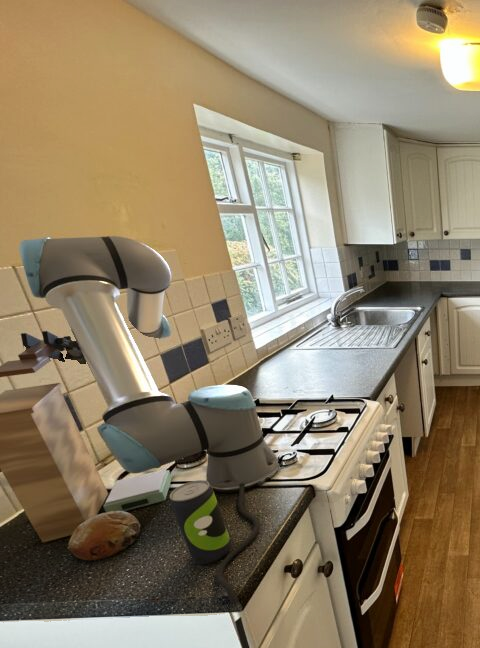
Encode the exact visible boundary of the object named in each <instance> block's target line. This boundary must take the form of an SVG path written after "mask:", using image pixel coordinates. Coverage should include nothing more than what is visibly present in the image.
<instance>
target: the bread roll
mask: <svg viewBox="0 0 480 648" xmlns="http://www.w3.org/2000/svg"><path fill="white" fill-rule="evenodd" d="M140 531H141V524H140V522H139V520H138V519H137V518H136V516H135V515H133V514H132V513H130V512H127V511H111V512H106V511H105V512H102V513H98V515H96V516H94V517H92V518H90V519H88V520H86V521H85V522H83V523H82V524H80V525H79V526H78V527H77V528H76V529H75V531H74V532H73V534H72V535H70V538H69V540H68V549H69V550H70V551H71V553H72V555H73V556H74V557H75V558H77V559H80V560H83V561H96V560H101V559H105V558H109V557H111V556H113V555H115V554H117V553H119V552H120V551H123V550H125V549H127V548H128V547H129V546H130V545H132V544H133V543H134V542H135V541H136V539H137V538H138V536H139V534H140Z"/></svg>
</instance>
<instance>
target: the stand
mask: <svg viewBox="0 0 480 648" xmlns="http://www.w3.org/2000/svg"><path fill="white" fill-rule="evenodd" d="M62 388H63V385H62V383H61V382H56V383H47V384H42V385H35V386H27V387H20V388H13V389H6V390H4V391H3V392H1V393H0V471H1V473H2V474H3V476H4V478H5V480H6V482H7V483H8V485H9V487H10V488H11V490H12V492H13V493H14V496H15V497H16V499H17V501H18V502H19V504H20V507H22V510H23V512H24V513H25V515H26V517H27V518H28V519H29V522H30V523H31V525H32V527H33V528H34V531H35V532H36V534H37V536H38V537H39V539H40V541H41V543H42V544H43V543H47V542H50V541H54V540H58V539H62V538H66V537H69V536H72V534H73V532H74V531H75V529H76V528H77V527H78V526H79V525H80V524H82V523H83V522H85V521H86V520H88V519H90V518H92V517H94V516H96V515H99V514H100V510H101V509H102V506H104V504H105V502H106V500H107V498H108V496H109V492H108V490H107V487H106V486H105V483H104V481H103V479H102V477H101V474H100V472H99V470H98V468H97V465H96V463H95V461H94V459H93V457H92V455H91V453H90V450H89V448H88V446H87V444H86V443H85V440H84V438H83V436H82V433H81V431H80V429H79V427H78V425H77V423H76V421H75V419H74V417H73V414H72V412H71V410H70V408H69V406H68V404H67V401H66V399H65V397H64V395H63V392H62V391H61V389H62Z"/></svg>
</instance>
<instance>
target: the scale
mask: <svg viewBox="0 0 480 648" xmlns="http://www.w3.org/2000/svg"><path fill="white" fill-rule="evenodd" d="M172 480H173V477H172V475H171V472H170V470H169V469H168V470H167V469H161V470H155V471H152V472H148V473H145V474H144V473H143V474H139V475H135V476H130V477H127V478H121V479H118V480H115V482H114V485H113V486H112V488H111V490H110V492H109V493H108V495H107V497H106V499H105V501H104V503H103V505H102V506H103V509H104V511H105V513H106V512H111V511H124V512H127V511H130V510H135V509H138V508H141V507H145V506H149V505H153V504H157V503H161V502H165V501H166V499H167V496H168V492H169V489H170V486H171V482H172Z"/></svg>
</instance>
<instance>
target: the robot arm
mask: <svg viewBox="0 0 480 648" xmlns="http://www.w3.org/2000/svg"><path fill="white" fill-rule="evenodd" d="M18 249H19V250H18V251H19V254H20V258H21V262H22V266H23V269H24V273H25V276H26V280H27V283H28V286H29V289H30V292H31V295H32V296H33V297H35V298H40V299H45V301H46V303H47V304H48V305H49V306H51V307H53V308H55V309H58V310H61V311H62V315H63V316H64V318H65V321H66V320H67V322H68V324H69V326H70V328H71V331H72V333H73V335H74V337H75V339H76V341H72V340H71V337H70V336H67V335H65V336H63V337H60V336H57V335H55V334H54V333H51V332H50V331H49V330H44V331H41V334H42V338H43V339H44V344H46V345H49V346H51V347H53V348H55V349H57V350H55V351H54V352H53V353H51V354H50V355H48V356H47V357H49V358H53V359H58V360H59V361H62V362H65V360H64V358H63V354H62V353H61V352H60V351H63V350H65V349H66V351H67V354H66V357H65V359H71V360H77V361H78V362H79V363H80V364H86V362H87V364H88V366H89V368H90V370H91V372H92V374H93V376H94V378H95V380H96V382H97V383H96V382H95V383H96V384H97V386H98V388H99V391H100V393H101V395H102V397H103V399H104V401H105V403H106V405H107V408H106V409H105V410H104V412H103V413H102V416H101V418H102V420H103V423H101V424H100V425H99V426H97V427H96V429H97V433H98V434H99V436H100V438H101V439H102V440H103V443H105V446H106V448H107V449H108V450H109V452H110V453H111V454H112V456H113V457H114V459H115V460H116V461H117V463H118V464H119V465H120V467H121V468H122V469H123V470H125V472H127V473H130V474H141V473H144V472H147V471H150V470H153V469H159V468H161V467H162V466H165V465H168V464H171V463H173V462H176V461H179V460H181V459H184V458H188V457H191V456H193V455H196V454H199V453H201V452H204V451H206V453H207V465H206V475H205V476H206V477H205V478H206V481H207V482H208V483H209V485H210V486H211V487H212V488H213V491H214V492H216V493H223V494H224V493H227V494H228V493H237V492H238V502H237V507H238V511H239V513H240V514H241V515H242V516H243V517H245V518H246V519H247V520H249V521H251V522H252V524H253V530H252V532H251V534H250V535H249V536H248V537H247V538H246V539H245V540H244V541H243V542H242V543H241V544H239V545H238V546H237V547H236V548H235V549H233V550H232V551H231V552H230V553H228V554H227V556H225V558H224V559H223V560H222V561H221V563H220V564H219V566H218V568H217V570H216V574H215V578H216V579H215V580H216V582H217V583H218V584H219V585H220V586H221V587H222V588H223V589H224V590H225V592H226V594H227V595H228V598H229V601H230V604H231V605H232V606H234V605H236V604H237V603H238V602H239V601H238V596H237V593H236V591H235V589H234V587H233V586H232V584H231V583H230V582H229V581H227V580H226V578H225V577H224V572H225V568H226V566H227V565H228V564H229V562H230V561H231V560H233V559H234V557H235V556H236V555H238V554H239V553H240V552H241V551H242V550H243V549H245V548H246V547H247V546H248V545H250V543H251V542H252V541H253V540H254V539H255V538H256V537H257V535H258V533H259V530H260V527H261V526H260V522H259V520H258V518H257V517H256V516H254V515H252V514H251V513H250V512H248V511H247V510H246V509H245V506H244V499H245V490H248V489H249V490H250V489H252V488H254V487H256V486H259V485H261V484H263V483H265V482H266V481H268V480H270V479H271V478H272V477H273V476H274V475H276V473H277V472H278V471H279V468H280V462H279V460H278V456H277V455H276V454H275V452H274V451H273V450H272V448H271V447H270V446H269V444H268V443H267V442H266V441H265V438H264V435H263V431H262V427H261V423H260V420H259V415H258V412H257V408H256V407H257V405H256V403H255V400H254V398H253V396H252V393H251V391H250V390H249V389H247V388H246V387H244V386H240V385H236V384H218V385H217V384H216V385H209V386H204V387H199V388H197V389H195V390H192V391H191V392H189V393H188V397H187V401H184V402H183V401H182V402H180V403H175V401H174V399H173V397H172V396H171V395H169V394H166V393H163V392H160V390H159V388H158V386H157V383H155V380H154V377H153V376H152V374H151V372H150V370H149V368H148V365H147V364H146V361H145V360H144V357H143V356H142V353H141V352H140V350H139V347H138V345H137V343H135V341H134V339H133V337H132V335H131V333H130V331H129V329H128V327H127V325H126V323H125V321H124V319H125V318H124V317H123V314H122V312H121V310H120V309H119V307H118V305H117V301H118V299H119V298H120V296H121V291H120V290H126V313H127V314H126V315H128V319H129V321H130V322H131V324H132V325H133V326H134V327H135V328H136V329H137V330H138V331H139V332H140V333H142V334H143V335H145V336H148V337H154V338H159V340H161V339H165V338H166V339H167V338H169V337H171V335H172V330H171V326H170V322H169V321H168V319H167V317H166V316H165V315H164V314H163V309H164V300H165V292H166V291H167V290H168V289H169V288H170V286H171V283H172V272H171V269H170V267H169V264H168V263H167V261H166V260H165V258H163V256H161V254H159V253H158V252H157V251H156V250H154V249H153V248H151V247H150V246H149V245H147V244H145V243H142V242H140V241H138V240H135V239H132V238H130V237H125V236H117V235H107V236H87V237H85V236H83V237H61V238H60V237H59V238H58V237H57V238H51V237H47V236H46V237H44V238H43V237H42V238H32V239H25V240H22V241H21V242H20V243H19V246H18ZM20 337H21V342H22V347H24V346H25V347H26V350H27V349H29V348H30V347H32V346H34V345H35V344H37V343H38V342H40V341H42V340H43V339H40V338H37V337H35V336H33V335H31V334H29V333H27V332H23V333H22V332H21V333H20ZM59 337H60V338H59ZM278 462H279V463H278ZM234 624H235V629H236V631H237V635H238V638H239V642H240V645H241V648H251V647H250V643H249V640H248V637H247V634H246V630H245V627H244V623H243V619H242V616H240V617H238V618H237V619H236V620H235V621H234Z"/></svg>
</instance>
